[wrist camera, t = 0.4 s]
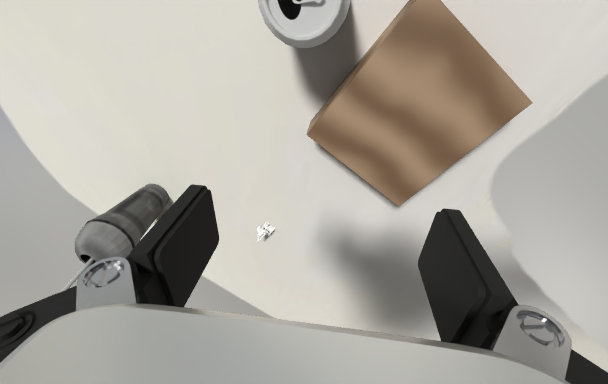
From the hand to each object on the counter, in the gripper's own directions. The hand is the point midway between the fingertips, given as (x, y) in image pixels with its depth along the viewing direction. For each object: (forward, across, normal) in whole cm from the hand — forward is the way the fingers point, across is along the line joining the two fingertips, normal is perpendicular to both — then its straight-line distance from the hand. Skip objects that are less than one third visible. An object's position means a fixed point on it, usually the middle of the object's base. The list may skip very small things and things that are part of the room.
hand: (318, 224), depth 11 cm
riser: (+28, -9, +2) cm, 29 cm away
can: (+28, +3, -9) cm, 29 cm away
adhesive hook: (+29, +9, +26) cm, 40 cm away
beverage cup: (+28, +29, +20) cm, 45 cm away
